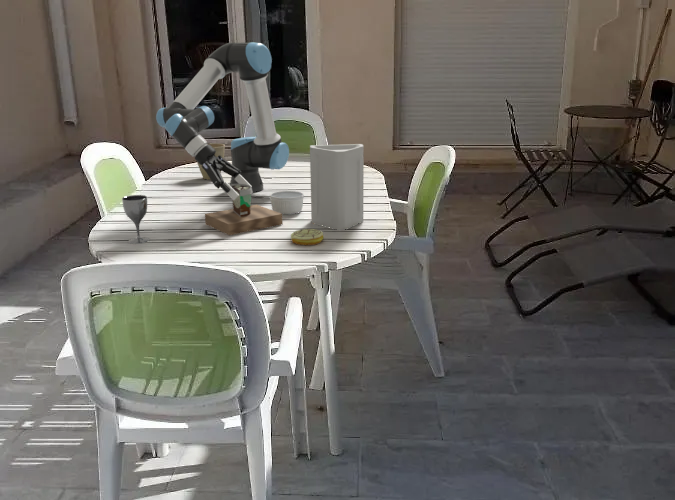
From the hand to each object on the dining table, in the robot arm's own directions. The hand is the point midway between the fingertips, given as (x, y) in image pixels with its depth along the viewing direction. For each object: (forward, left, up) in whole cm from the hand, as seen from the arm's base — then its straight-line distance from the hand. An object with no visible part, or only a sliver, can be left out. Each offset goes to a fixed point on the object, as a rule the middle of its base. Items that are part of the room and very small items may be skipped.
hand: (243, 193), depth 244 cm
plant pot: (-29, -83, -12) cm, 88 cm away
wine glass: (+38, -6, -12) cm, 40 cm away
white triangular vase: (-27, +21, -12) cm, 37 cm away
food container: (-1, -1, -8) cm, 8 cm away
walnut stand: (0, -1, -12) cm, 12 cm away
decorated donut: (-6, +31, -12) cm, 34 cm away
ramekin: (-23, -7, -12) cm, 27 cm away
